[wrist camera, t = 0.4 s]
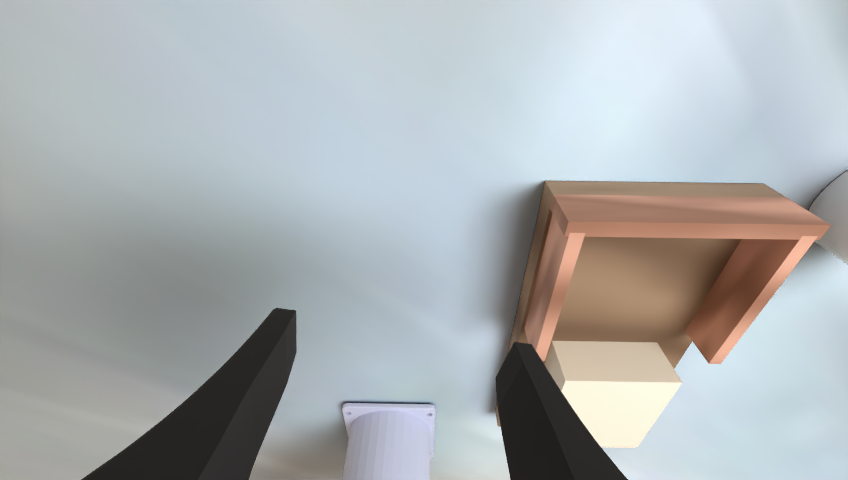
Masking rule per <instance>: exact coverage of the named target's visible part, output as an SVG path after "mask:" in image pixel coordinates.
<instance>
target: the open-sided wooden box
mask: <svg viewBox="0 0 848 480" xmlns="http://www.w3.org/2000/svg"><path fill="white" fill-rule="evenodd" d="M830 226H831V225H830V224H829V223H827V222H825V221H824V220H822V219H821V218H819V217H817V216H816V215H814V214H812V213H811V212H809V211H808V210H806V209H804V208H803V207H801V206H799V205H798V204H796V203H795V202H793V201H791V200H790V199H788V198H786V197H785V196H783V195H781V194H780V193H778V192H777V191H775V190H773V189H772V188H770V187H768V186H767V185H765V184H752V183H675V182H598V181H545V184H544V189H543V194H542V198H541V203H540V207H539V212H538V216H537V221H536V226H535V230H534V235H533V239H532V244H531V248H530V253H529V258H528V262H527V267H526V271H525V276H524V280H523V285H522V290H521V294H520V299H519V303H518V308H517V312H516V317H515V321H514V326H513V331H512V335H511V340H510V344H509V349H508V353H509V351H510V349H511V347H512V345H513V343H514V342H520V343H527V344H532V345H533V347H534V349H535V350H536V352H537V353H538V355H539V357H540V358H541V360H542V361H543V363H544V364H545V361H546V358H547V355H548V352H549V349H550V346H551V343H552V341H594V342H657V343H658V345H659V346H660V348H661V349H662V351H663V353H664V354H665V356H666V357H667V359H668V361H669V362H670V364H671V365H672V367H673V369H674V368H675V367H676V365H677V364H678V362H679V361H680V359H681V358H682V356H683V354H684V353H685V351H686V350H687V348H688V347H689V345H690V344H691V342H692V341H693V342H694V344H695V345H696V347H697V348H698V349H699V351H700V352H701V353H702V355H703V356H704V358H705V359H706V360H707V362H708V363H709V364H721V363H722V361H723V360H724V359H725V357H726V356H727V355H728V354H729V352H730V351H731V350H732V348H733V347H734V346H735V344H736V343H737V342H738V340H739V339H740V338H741V337H742V335H743V334H744V333H745V331H746V330H747V329H748V327H749V326H750V325H751V323H752V322H753V321H754V320H755V318H756V317H757V316H758V314H759V313H760V312H761V310H762V309H763V308H764V306H765V305H766V304H767V302H768V301H769V300H770V299H771V297H772V296H773V295H774V293H775V292H776V291H777V289H778V288H779V287H780V285H781V284H782V283H783V282H784V280H785V279H786V278H787V276H788V275H789V274H790V272H791V271H792V270H793V268H794V267H795V266H796V265H797V263H798V262H799V261H800V259H801V258H802V257H803V255H804V254H805V253H806V251H807V250H808V249H809V248H810V246H811V245H812V244H813V242H814V241H815V240H820V239H821V238H822V236H823V235H824V234H825V233H826V231H827V230H828V229H829V227H830ZM508 353H507V355H508ZM495 411H496V417H497V424H498V426H501V425H500V419H499V413H498V406H497V404H496V408H495Z"/></svg>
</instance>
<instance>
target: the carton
mask: <svg viewBox="0 0 848 480" xmlns="http://www.w3.org/2000/svg"><path fill="white" fill-rule="evenodd" d="M544 365H545V366H546V368H547V370H548V371H549V373H550V374H551V376H552V377H553V379H554V381H555V382H556V384H557V385H558V387H559V388H560V390H561V392H562V393H563V395H564V396H565V398H566V399H567V401H568V402H569V404H570V405H571V407H572V408H573V410H574V411H575V413H576V414H577V415H578V417H579V418H580V420H581V421H582V423H583V424H584V425H585V427H586V428H587V429H588V431H589V432H590V433H591V435H592V436H593V438H594V439H595V440H596V442H597V443H598V444H599V445H600V447H620V448H637V447H638V445H639V444H640V442H641V441H642V440H643V438H644V437H645V435H646V434H647V432H648V431H649V430H650V428H651V427H652V425H653V424H654V422H655V421H656V420H657V418H658V417H659V415H660V414H661V412H662V411H663V410H664V408H665V407H666V405H667V404H668V402H669V401H670V400H671V398H672V397H673V395H674V394H675V392H676V391H677V390H678V388H679V387H680V385H681V384H682V381H681V380H680V378H679V377H678V375H677V373H676V372H675V370H674V369H673V367H672V365H671V364H670V362H669V361H668V359H667V357H666V356H665V354H664V353H663V351H662V349H661V348H660V346H659V345H658V343H657V342H594V341H552V343H551V346H550V349H549V352H548V355H547V358H546V361H545V364H544Z"/></svg>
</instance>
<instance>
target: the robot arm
mask: <svg viewBox="0 0 848 480" xmlns="http://www.w3.org/2000/svg"><path fill="white" fill-rule="evenodd" d="M295 355H296V311H295V310H288V309H281V308H275V309H274V310H272V312H271V313H270V314H269V316H268V317H267V318H266V319H265V320H264V322H263V323H262V324H261V325H260V326H259V327H258V329H257V330H256V331H255V332H254V333H253V334H252V335H251V337H250V338H249V339H248V340H247V341H246V342H245V343H244V344H243V345H242V346H241V347H240V348H239V349H238V351H237V352H236V353H235V354H234V355H233V356H232V357H231V358H230V359H229V360H228V361H227V362H226V363H225V364H224V365H223V366H222V367H221V368H220V369H219V370H218V371H217V372H216V373H215V374H214V375H213V376H212V377H211V378H209V379H208V380H207V381H206V382H205V383H204V384H203V385H202V386H201V387H200V388H199V389H198V390H197V391H196V392H194V393H193V394H192V395H191V396H190V397H189V398H188V399H187V400H185V401H184V402H183V403H182V404H181V405H180V406H179V407H177V408H176V409H175V410H174V411H173V412H171V413H170V414H169V415H168V416H167V417H165V418H164V419H163V420H162V421H160V422H159V423H158V424H157V425H155V426H154V427H153V428H152V429H150V430H149V431H148V432H146V433H145V434H144V435H143V436H141V437H140V438H139V439H137V440H136V441H135V442H134V443H132V444H131V445H130V446H128V447H127V448H126V449H124V450H123V451H121V452H120V453H119V454H117V455H116V456H114V457H113V458H112V459H110V460H109V461H107V462H106V463H104V464H103V465H102V466H100V467H99V468H97V469H96V470H94V471H93V472H92V473H90V474H89V475H87V476H86V477H84V478H83V479H82V480H249V476H250V473H251V470H252V468H253V465H254V462H255V460H256V457H257V454H258V452H259V449H260V447H261V445H262V442H263V440H264V437H265V435H266V433H267V430H268V428H269V426H270V423H271V421H272V418H273V416H274V414H275V411H276V409H277V406H278V404H279V402H280V399H281V397H282V394H283V392H284V389H285V387H286V385H287V382H288V379H289V375H290V372H291V369H292V365H293V362H294V358H295ZM496 392H497V406H498V413H499V419H500V425H501V430H502V436H503V441H504V446H505V452H506V457H507V463H508V468H509V473H510V479H511V480H628V479H627V478H626V477H625V476H624V475H623V474H622V472H621V471H620V470H619V469H618V468H617V466H616V465H615V464H614V463H613V462H612V460H611V459H610V458H609V457H608V455H607V454H606V453H605V452H604V451H603V449H602V448H601V447H600V445H599V444H598V443H597V442H596V440H595V439H594V438H593V436H592V435H591V433H590V432H589V431H588V429H587V428H586V427H585V425H584V424H583V423H582V421H581V420H580V418H579V417H578V415H577V414H576V413H575V411H574V410H573V408H572V407H571V405H570V404H569V402H568V401H567V399H566V398H565V396H564V395H563V393H562V392H561V390H560V388H559V387H558V385H557V384H556V382H555V381H554V379H553V377H552V376H551V374H550V373H549V371H548V370H547V368H546V366H545V365H544V363H543V361H542V360H541V358H540V357H539V355H538V353H537V352H536V350H535V349H534V347H533V345H532V344H527V343H520V342H514V343H513V345H512V347H511V349H510V351H509V353H508V355H507V357H506V359H505V361H504V363H503V365H502V367H501V369H500V371H499V373H498V374H497V376H496ZM342 412H343V416H344V421H345V426H346V430H347V435H348V439H349V441H348V447H347V452H346V458H345V464H344V470H343V475H342V480H430V460H432V459H433V452H434V431H435V406H434V405H431V404H377V403H345V404H344V405H343V407H342Z"/></svg>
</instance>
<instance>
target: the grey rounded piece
mask: <svg viewBox="0 0 848 480" xmlns="http://www.w3.org/2000/svg"><path fill="white" fill-rule="evenodd" d="M809 212H811V213H812V214H814V215H816V216H817V217H819V218H821V219H822V220H824V221H825V222H827V223H829V224H830V225H831V226H830V227H829V229H828V230H827V231H826V233H825V234H824V235H823V236H822V238H821V239H820V240H815V241H814V242H815V243H817V244H818V245H820V246H821V247H822V248H824V249H825V250H827V251H828V252H830V253H831V254H833V255H834V256H836V257H837V258H839V259H840V260H841V261H843V262H844V263H846V264H847V265H848V171H846V172H845V173H843V174H842V175H840V176H839V177H838V178H836V179H835V180H834V181H833V182H831V183H830V184H829V185H828V186H827V187H826V188H825V189H824V190H823V191H822V192H821V193H820V194H819V195H818V197H817V198H816V199H815V201H814V202H813V204H812V205H811V207H810V209H809Z"/></svg>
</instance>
